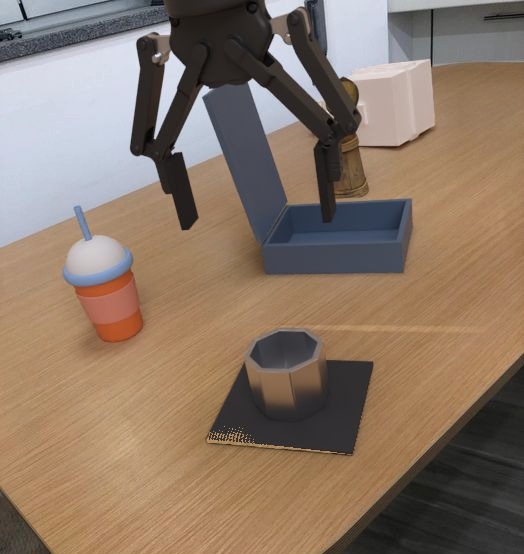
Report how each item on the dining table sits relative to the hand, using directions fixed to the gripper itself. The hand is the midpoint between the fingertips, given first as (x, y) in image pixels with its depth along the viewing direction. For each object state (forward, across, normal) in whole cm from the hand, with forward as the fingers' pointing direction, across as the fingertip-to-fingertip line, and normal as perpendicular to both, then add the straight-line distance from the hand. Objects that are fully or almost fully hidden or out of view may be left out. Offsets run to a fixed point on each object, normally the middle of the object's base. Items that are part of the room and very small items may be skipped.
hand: (257, 220), depth 55 cm
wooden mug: (+20, -3, +58) cm, 62 cm away
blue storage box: (+20, +1, +31) cm, 37 cm away
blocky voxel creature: (+20, -4, +89) cm, 92 cm away
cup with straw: (+20, -27, +10) cm, 35 cm away
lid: (+4, -10, +31) cm, 33 cm away
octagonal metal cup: (+19, +1, -3) cm, 19 cm away
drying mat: (+20, +1, -3) cm, 20 cm away
